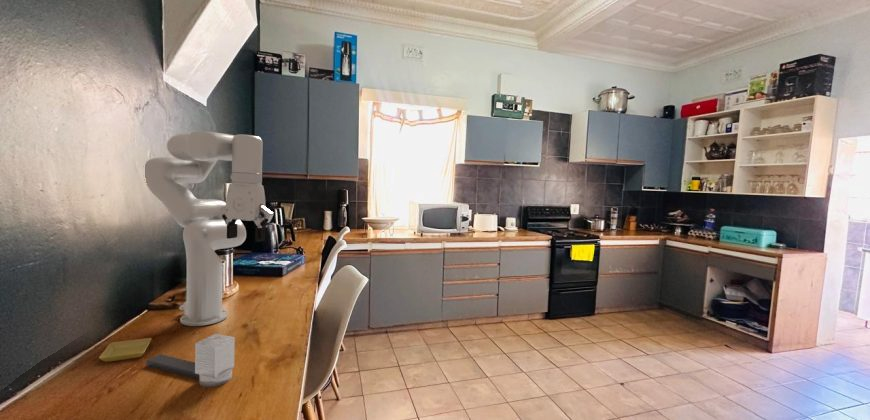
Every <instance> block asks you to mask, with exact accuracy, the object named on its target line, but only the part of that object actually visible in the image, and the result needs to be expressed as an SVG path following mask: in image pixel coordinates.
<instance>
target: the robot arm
mask: <svg viewBox="0 0 870 420" xmlns="http://www.w3.org/2000/svg"><path fill="white" fill-rule="evenodd" d="M263 145H264V143H263V139H262V138H261V137H260V136H257V135H252V134H244V133H243V134H240V133H239V134H235V135H234V134H228V133H222V132H215V131H203V130H202V131H201V130H200V131H191V132H189V133H179V134H175V135H173V136H171V137H170V138H169V139H168V141H167V142H166V148H167V151H168V153H169V154H170V155H171V156H173V157H166V156H165V157H164V156H163V157H161V156H159V157H154V158H150V159H149V160H147V161H145V163H146V164H145V163H144V164H145V178H146V182H145V184H146V183H147V184H146V186H147V188H148V189H149V191H150V192H151V194H153V195H154V197H155V198H157V199H158V200H159V201H160V202H161V203H162V204H163V205H164V206H165V208H166V209H167V211H168V212H169V214H170V215H171V217H172V218H173V219H174V221H175V222H176V223H177V225H179V226H180V227H181V228H184V229H183V231H182V240H183V243H184V249H185V259H186V301H184V302H183V304H182V305H179V307H178V308H179V309H178V310H181V311H184V313H183V315H181V317H180V318H179V319H180V321H179V322H180V324H181V325H184V326H187V327H188V326H189V327H202V326H207V325H208V326H209V325H213V324H217V323H219V322H221V321H223V320H225V319H226V318H227V317H228V311H227V310H226V309H223V261H222V259H221V257H220V256H219V255H218V254H217V253H216V252H215V251H216V250H221V249H228V248H235V247H238V246H241V245H242V244H243V243H244V242H245V241H246V239H247V230H246V226H245V225H244V223H243V222H242V221H244V222H245V221H247V222H248V221H249V222H250V221H251V222H252V221H253V222H254V224H255V225H256V226H257V227H255V231H254V232H255V233H254V240H255V241H254V242H256V243H260V242H265V241H266V228H268V225H269V224H270V223H271V222H272V219H273V216H274V212H273V211H271V210H270V209H269V208H267V207H266V195H265V194H266V193H265V189H264V188H265V187H264V185H262V183H263V153H264V152H263V147H264V146H263ZM218 161H226V162H227V161H229V162H231V174H230V176H229V178H230V180H231V183H229V185H228V189H227V190H226V191H227V192H226V197H225V198H226V199H225V200H226V201H224V200H220V199H213V198H212V199H208V198H207V199H206V198H205V199H204V198H202V199H200V198H197V197H196V196H194V195H195V194H193V192H192V191H191V190H189V189H188V188H187V187H186V186H184V185H182V184H199V183H202V182H204V181H205V180H206V179H207V177H208V175H209V174H211V171H212V169H213V168H214V167H215V165H216V164H217V162H218Z"/></svg>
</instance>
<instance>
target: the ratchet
mask: <svg viewBox="0 0 870 420" xmlns="http://www.w3.org/2000/svg"><path fill="white" fill-rule="evenodd" d="M145 361H146V363H145V364H146V367H148V368H153V369H155V368H157V369H156V370H159V369H161V370H160V371H163V370H165V371H164V372H167V371H168V372H167V373H171V372H172V373H173V374H175V373H176V375H180V376H182V377H183V376H184V377H187V378H191V379H195V380H198V383H199V385H200V386H202V387H207V388H212V387H218V386H221V385H224V384H226V383H228V382H229V381H230V380H232V377H233V367H232V368H230V369H229V370H227V371H225V372H224V373H222V374H220V375H219V376H217V377H216V378H212V377H208V376H204V375H200V374H196V373H195V361H191V360H187V359H183V358H179V357H174V356H170V355H164V354H161V353H159V354H156V355H154V356H152V357H150V358H149V359H146V360H145Z"/></svg>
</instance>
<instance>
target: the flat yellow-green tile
mask: <svg viewBox="0 0 870 420" xmlns="http://www.w3.org/2000/svg"><path fill="white" fill-rule="evenodd" d="M152 339H153V338H152V337H147V338H139V339H129V340H122V341H112V342H111V343H109V344H108V345H107V347H106V348H105V350H104V351H103V352H102V353H101V354H100V356H99V357H98V358H99V360H101V361H103V362H105V363H108V362H116V361H123V360H130V359H131V360H132V359H137V358H141V357H142V356H143V355H144V354H145V352H146V350H147V349H148V347H149V345H150V343H151V341H152Z"/></svg>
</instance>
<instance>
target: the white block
mask: <svg viewBox="0 0 870 420" xmlns="http://www.w3.org/2000/svg"><path fill="white" fill-rule="evenodd" d="M235 343H236V338H235V337H234V336H230V335H226V334H225V335H224V334H221V333H215V334H214V333H213V334H212V335H209V336H207V337H205V338H204V339H201V340H199V341H196V342H195V344H194V345H195V346H194V349H195V351H194V362H195V373H196V374H200V375H204V376H208V377H212V378H216V377H217V376H219V375H220V374H222V373H224V372H225V371H227V370H229V369H230V368H232V369H233V368H234V367H235V351H236V350H235Z"/></svg>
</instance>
